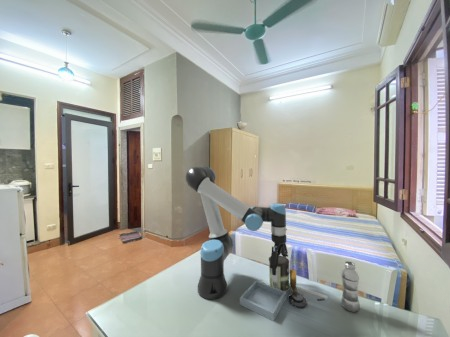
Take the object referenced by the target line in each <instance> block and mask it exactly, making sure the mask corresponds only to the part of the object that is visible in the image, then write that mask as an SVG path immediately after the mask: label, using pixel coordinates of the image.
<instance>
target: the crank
mask: <svg viewBox="0 0 450 337" xmlns="http://www.w3.org/2000/svg"><path fill="white" fill-rule="evenodd" d="M289 288H290V290H291V294H292V299H293V300H294V301H296V302H303V296H304V295H303V293H301V292H299V289H298V287H297V270H296V269H293V268H291V269H290V268H289Z"/></svg>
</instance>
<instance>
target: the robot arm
mask: <svg viewBox="0 0 450 337" xmlns="http://www.w3.org/2000/svg"><path fill="white" fill-rule="evenodd" d="M215 181H216V173H215V171H214V170H213V169H212V168H211V167H208V166H194V167H190V168H189V169H188V170H187V171H186V174H185V182H186V185H187V186H189V187H190V189H192V190H194V191H195V192H197V193H198V194H200V199H201V203H202V206H203V211H204V214H205V218H206V221H207V225H208V229H209V235H208V240H206V241H205V242H203V243H202V245H201V247H200V276H199V279H198V284H197V293H198V295H199V296H200V297H201V298H203V299H206V300H216V299H220V298H222V297H223V296H225V295H226V293H227V292H228V283H227V280H226V277H225V272H224V270H225V269H224V268H225V267H224V263H225V260H226V259H227V257H228V256H229V255H230V254H231V253H232V252H233V248H234V240H233V237H232V236H231V235H230V234H229V232H228V230H227V229H226V228H225V226H224V223H223V218H222V214H221V210H220V207H222V208H223V209H224V210H226V211H227V212H228V213H230V214H231V215H233V216H234V217H235V218H237V219H238V220H240V221H242V223H244V224H245V227H246V228H247V230H249V231H252V232H257V231H258V230H260V229H261V228H262V226H263V224H264V222H265V223H266V222H267V223H270V233H271V234H270V235H271V236H270V237H271V238H270V240H271V242H272V243H273V244H274V246H273V245H272V246H271V254H270V257H271V260H270V268H272V280H273V281H276V282H278V268H277V264H278V259H279V256H283V257H286V258H288V257H289V254H288V247H287V231H288V229H287V213H286V212H287V211H286V205H285V204H283V203H271V204H270V207H264V206H263V207H262V206H249V205H247V204H245V203H244V202H243V201H241V200H239V199H238V198H236V197H235V196H233V195H232V194H231V193H229V192H227V191H226V190H225V189H223V188H222V187H220V186H218V185H217V184H216V183H215ZM219 206H220V207H219Z"/></svg>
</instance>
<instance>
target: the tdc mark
mask: <svg viewBox="0 0 450 337" xmlns="http://www.w3.org/2000/svg"><path fill="white" fill-rule="evenodd" d="M316 301H326V299H325V298H324V297H322V298H321V297H320V298H316Z"/></svg>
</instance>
